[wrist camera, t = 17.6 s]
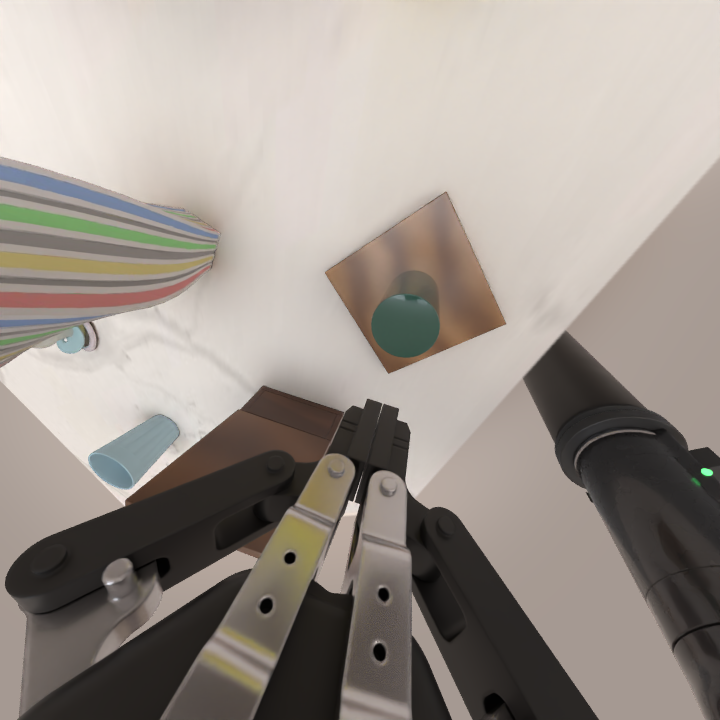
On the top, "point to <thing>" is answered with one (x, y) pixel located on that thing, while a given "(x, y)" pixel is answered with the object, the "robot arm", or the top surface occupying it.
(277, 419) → the brown wooden box
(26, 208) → the vase
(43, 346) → the pacifier
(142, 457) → the cup
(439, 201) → the plate
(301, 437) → the lid
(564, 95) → the top surface
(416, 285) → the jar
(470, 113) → the top surface
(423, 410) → the top surface
